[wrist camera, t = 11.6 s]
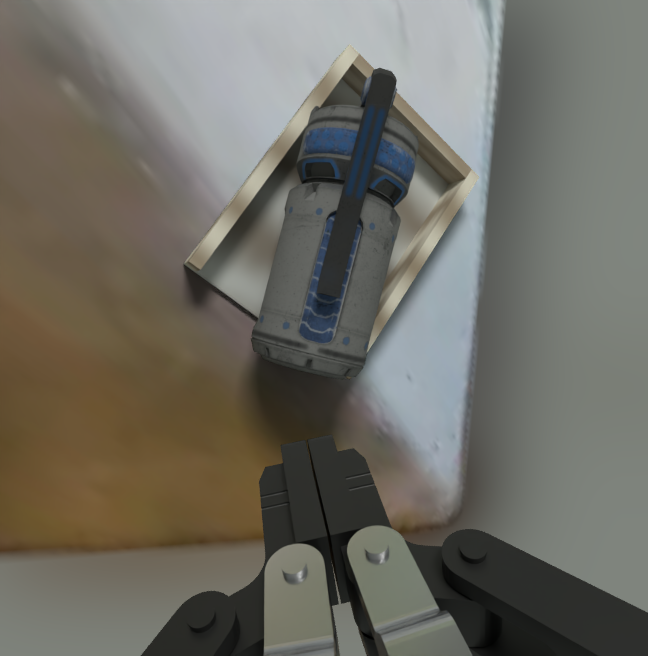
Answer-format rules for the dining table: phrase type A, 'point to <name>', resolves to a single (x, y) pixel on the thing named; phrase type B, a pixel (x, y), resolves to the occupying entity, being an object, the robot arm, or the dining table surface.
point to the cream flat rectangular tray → (281, 175)
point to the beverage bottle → (337, 235)
